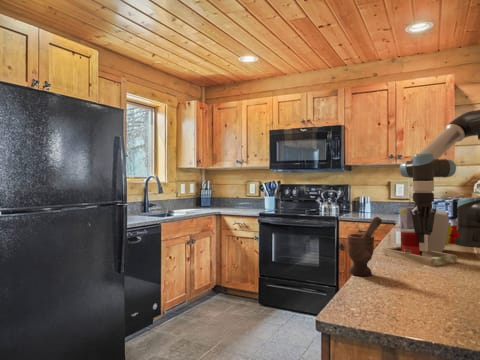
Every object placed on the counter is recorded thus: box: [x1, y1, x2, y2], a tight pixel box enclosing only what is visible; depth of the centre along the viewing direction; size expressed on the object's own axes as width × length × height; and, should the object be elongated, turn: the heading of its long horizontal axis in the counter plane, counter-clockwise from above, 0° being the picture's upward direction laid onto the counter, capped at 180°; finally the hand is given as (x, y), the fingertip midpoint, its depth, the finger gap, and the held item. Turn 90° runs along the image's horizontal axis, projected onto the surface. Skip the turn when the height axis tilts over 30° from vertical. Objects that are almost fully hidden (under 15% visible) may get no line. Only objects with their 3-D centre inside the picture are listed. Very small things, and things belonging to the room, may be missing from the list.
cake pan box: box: [399, 206, 415, 231], centre depth 187 cm, size 19×5×18 cm, turn 122°
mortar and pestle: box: [347, 216, 383, 277], centre depth 118 cm, size 12×9×20 cm
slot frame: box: [382, 246, 458, 267], centre depth 142 cm, size 15×22×3 cm
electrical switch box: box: [428, 209, 459, 253], centre depth 155 cm, size 15×15×20 cm
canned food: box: [400, 229, 422, 256], centre depth 145 cm, size 8×8×11 cm
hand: (423, 250), depth 140 cm, fingers closed
